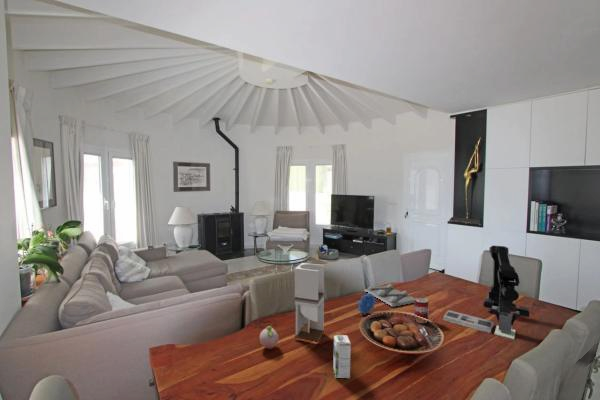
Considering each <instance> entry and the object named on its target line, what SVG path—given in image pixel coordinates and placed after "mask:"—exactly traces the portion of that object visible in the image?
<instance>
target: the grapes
mask: <svg viewBox="0 0 600 400" xmlns="http://www.w3.org/2000/svg"><path fill="white" fill-rule="evenodd" d="M376 303H377V301H376V298H375V296H374V295H371V294H370V293H366V295H365V294H364V295H362V296H361V299H359V301H358V303H357V304H358V307H357V310H358V311H360V314H361V313H364V314H366V313H368V314H370V311H372V310H374V308H375V307H374V305H375V304H376Z"/></svg>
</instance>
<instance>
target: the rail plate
mask: <svg viewBox="0 0 600 400" xmlns="http://www.w3.org/2000/svg"><path fill="white" fill-rule="evenodd" d="M442 318H443V320H442V321H445V322H448V323H452V324H455V325H459V326H463V327H467V328H469V329H470V328H471V329H474V330H477V331H481V332H485V333H487V334H491V333H492V330H493V328H494V321H492V320H490V319H489V320H488V319H486V318H481V317H478V316H472V315H469V314H466V313H461V312H458V311H453V310H449V309H448V310H447V311H446V313H445V314H444V315H443V317H442Z"/></svg>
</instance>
